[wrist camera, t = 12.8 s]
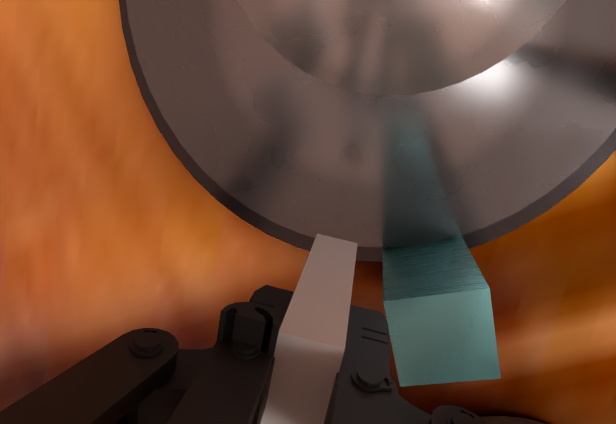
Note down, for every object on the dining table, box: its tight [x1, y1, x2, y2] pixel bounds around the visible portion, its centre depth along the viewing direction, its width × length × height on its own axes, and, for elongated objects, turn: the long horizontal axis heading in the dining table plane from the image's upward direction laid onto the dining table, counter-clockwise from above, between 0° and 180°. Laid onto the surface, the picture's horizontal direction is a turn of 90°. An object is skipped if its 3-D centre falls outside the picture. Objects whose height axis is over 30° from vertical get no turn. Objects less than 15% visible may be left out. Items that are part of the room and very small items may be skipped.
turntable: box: [126, 0, 616, 387], centre depth 14 cm, size 22×18×6 cm
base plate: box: [119, 0, 616, 262], centre depth 17 cm, size 21×21×1 cm
